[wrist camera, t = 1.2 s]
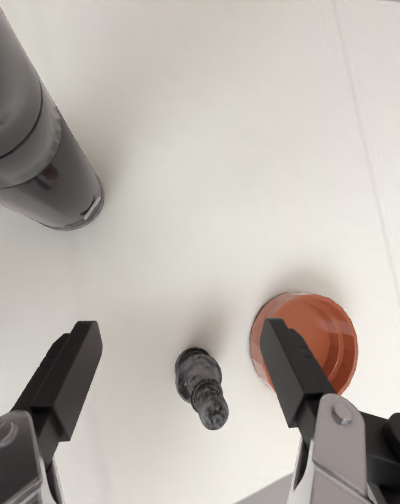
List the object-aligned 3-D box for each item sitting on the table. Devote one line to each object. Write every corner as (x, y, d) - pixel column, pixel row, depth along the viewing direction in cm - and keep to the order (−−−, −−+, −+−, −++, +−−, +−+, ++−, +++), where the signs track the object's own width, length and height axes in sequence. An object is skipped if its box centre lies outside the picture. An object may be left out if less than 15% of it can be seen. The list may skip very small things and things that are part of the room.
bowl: (229, 337, 32) (240, 347, 28) (297, 272, 35) (316, 272, 31) (289, 414, 33) (308, 434, 29) (350, 344, 36) (375, 353, 32)
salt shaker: (220, 354, 31) (261, 402, 20) (203, 395, 30) (236, 472, 19) (184, 338, 31) (204, 380, 19) (165, 380, 30) (174, 451, 18)
